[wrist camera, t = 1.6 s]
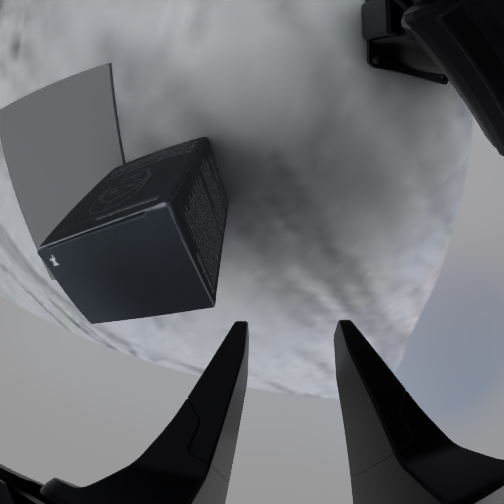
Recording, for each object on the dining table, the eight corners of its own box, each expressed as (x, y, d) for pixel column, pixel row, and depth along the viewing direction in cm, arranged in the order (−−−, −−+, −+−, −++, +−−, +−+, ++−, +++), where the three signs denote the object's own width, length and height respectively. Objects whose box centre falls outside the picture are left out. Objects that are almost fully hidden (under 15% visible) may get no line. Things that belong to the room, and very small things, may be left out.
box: (141, 228, 22) (89, 327, 14) (113, 167, 19) (32, 247, 11) (231, 205, 21) (217, 312, 13) (208, 134, 18) (166, 201, 9)
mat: (110, 63, 15) (109, 63, 14) (155, 283, 26) (155, 285, 26) (-3, 111, 15) (-5, 112, 15) (52, 277, 27) (51, 279, 27)
